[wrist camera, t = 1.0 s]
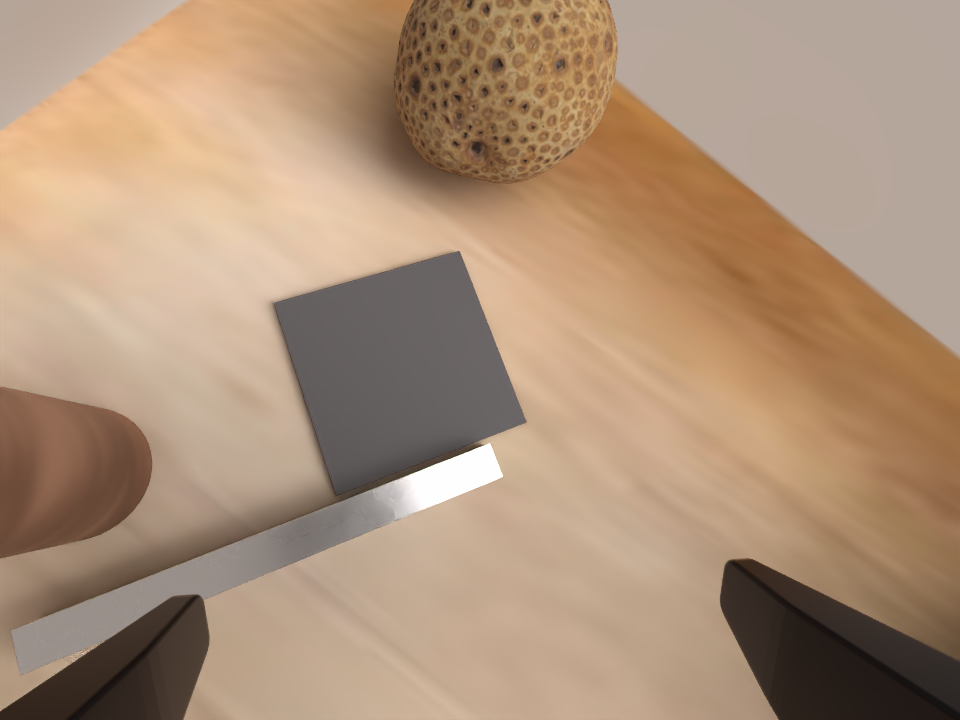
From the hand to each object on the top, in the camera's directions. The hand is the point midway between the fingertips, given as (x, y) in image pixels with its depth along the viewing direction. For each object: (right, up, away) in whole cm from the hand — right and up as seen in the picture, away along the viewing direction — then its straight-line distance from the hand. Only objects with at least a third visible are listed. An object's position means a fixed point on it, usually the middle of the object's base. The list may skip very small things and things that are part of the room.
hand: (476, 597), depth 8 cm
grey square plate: (-4, +4, +14) cm, 15 cm away
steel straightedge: (-8, -3, +12) cm, 15 cm away
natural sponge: (0, +15, +18) cm, 23 cm away
